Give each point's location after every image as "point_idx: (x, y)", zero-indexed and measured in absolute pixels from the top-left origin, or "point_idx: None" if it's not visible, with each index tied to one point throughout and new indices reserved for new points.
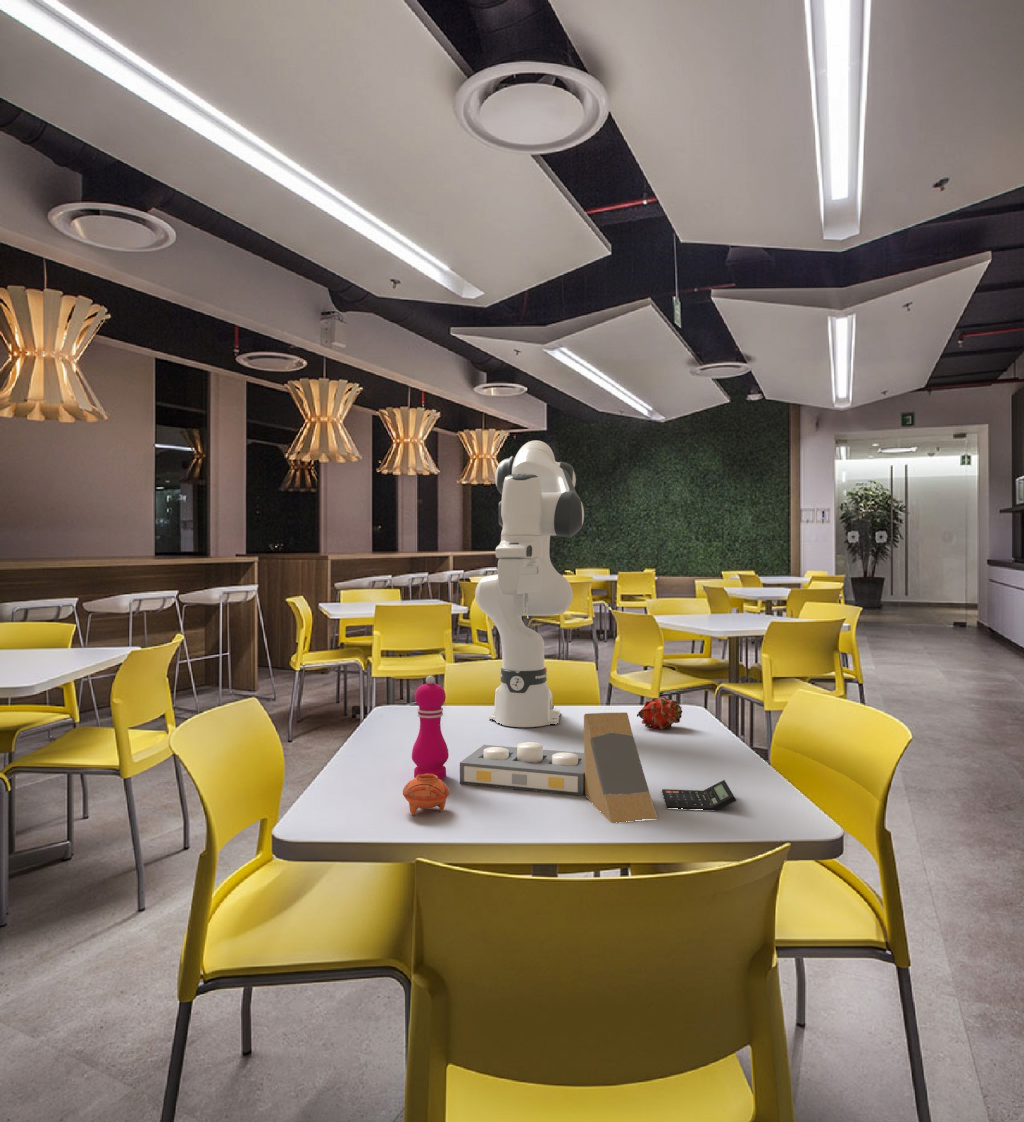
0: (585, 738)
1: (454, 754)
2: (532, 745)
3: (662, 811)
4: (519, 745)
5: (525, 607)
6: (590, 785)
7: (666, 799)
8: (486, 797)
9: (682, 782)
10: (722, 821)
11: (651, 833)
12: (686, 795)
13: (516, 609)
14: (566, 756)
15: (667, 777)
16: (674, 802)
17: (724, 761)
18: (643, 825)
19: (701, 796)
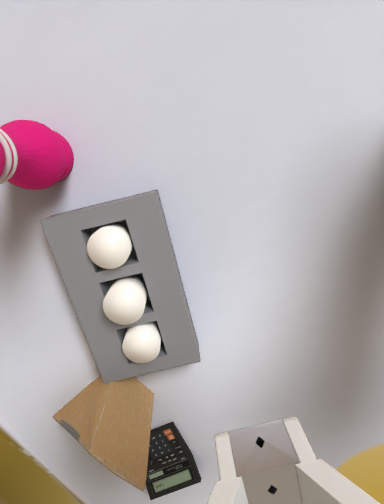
0: (92, 424)
1: (179, 109)
2: (125, 309)
3: None
4: (113, 293)
5: (275, 502)
6: (91, 392)
7: None
8: (31, 277)
9: (217, 427)
10: (120, 482)
11: (52, 450)
12: (165, 447)
13: (219, 465)
14: (140, 349)
15: (228, 410)
16: None
17: (324, 437)
18: (66, 439)
19: (171, 458)
